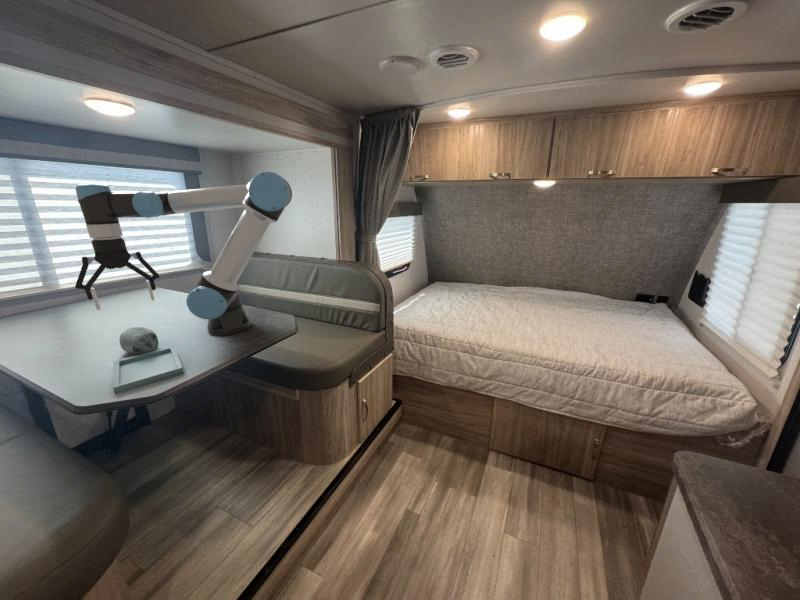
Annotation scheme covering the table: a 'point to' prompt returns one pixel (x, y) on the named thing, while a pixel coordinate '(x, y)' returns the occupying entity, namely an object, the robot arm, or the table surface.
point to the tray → (146, 369)
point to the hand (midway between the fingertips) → (126, 304)
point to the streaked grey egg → (138, 340)
